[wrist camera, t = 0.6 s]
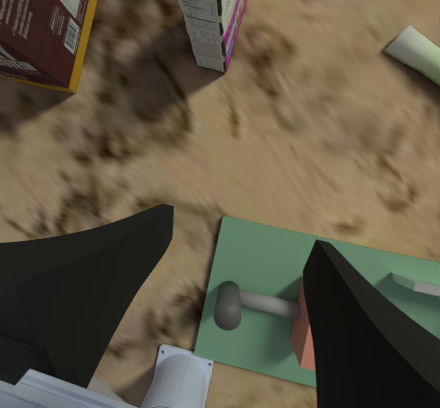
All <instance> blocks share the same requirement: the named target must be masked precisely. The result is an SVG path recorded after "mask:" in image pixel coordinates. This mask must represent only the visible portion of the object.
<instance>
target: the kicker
mask: <svg viewBox="0 0 440 408" xmlns="http://www.w3.org/2000/svg"><path fill="white" fill-rule="evenodd" d="M241 306H244V307H248V308H252V309H256V310H261V311H265V312H269V313H273V314H277V315H281V316H285V317H289V318H293V319H294V320H293V325H292V329H291V334H290V339H289V341H290V343H291V346H292V348H293V351H294V353H295V355H296V358H297V360H298V363H299V365H300V367H303V368H307V369H311V370H315V360H314V348H313V341H312V334H311V329H310V324H309V318H308V313H307V308H306V302H305V296H304V290H303V278H302V283H301V287H300V292H299V297H298V301H297V302H293V301H288V300H284V299H280V298H276V297H272V296H267V295H263V294H259V293H255V292H251V291H246V290H242V289H239V286H238V285H237V284H236V283H235V282H233V281H225V282H223V283H222V284H221V285H220V286H219V289H218V294H217V299H216V305H215V310H214V321H215V323H216V325H217V326H218V327H219V328H220V329H222V330H225V331H231V330H234V329H236V328H237V327H238V326H239V324H240V322H241V319H242V315H241Z"/></svg>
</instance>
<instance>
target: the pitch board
mask: <svg viewBox="0 0 440 408" xmlns="http://www.w3.org/2000/svg"><path fill="white" fill-rule="evenodd" d="M316 239H317V240H322V241H326V242H330V243H331V244H332V245H333V246H334V247H335V248H336V249H337V250H338V251H339V252H340V253H341V254H342V255H343V256H344V257H345V258H346V259H347V261H348V262H349V263H350V264H351V265H352V266H353V267H354V268H355V269H356V270H357V271H358V272H359V273H360V274H361V275H362V276H363V277H364V278H365V279H366V280H367V281H368V282H369V283H370V284H372V285H373V286H374V287H375V288H376V289H377V290H378V291H379V292H380V293H381V294H382V295H383V296H385V297H386V298H387V299H388V300H389V301H390V302H392V303H393V304H394V305H395V306H396V307H398V308H399V309H400V310H401V311H403V312H404V313H405V314H406V315H408V316H409V317H410V318H411V319H413V320H414V321H415V322H417V323H418V324H419V325H421V326H422V327H423V328H425V329H426V330H428V331H429V332H430V333H432V334H433V335H434V336H436V337H437V338H438V339H440V296H436V295H431V294H427V293H423V292H418V291H414V290H412V289H409V288H407V287H405V286H403V285H401V284H399V283H396V282H394V281H392V280H390V274H391V272H394V273H398V274H403V275H407V276H412V277H416V278H421V279H425V280H430V281H434V282H439V283H440V263H438V262H433V261H428V260H424V259H419V258H415V257H410V256H405V255H401V254H396V253H392V252H387V251H382V250H378V249H373V248H368V247H364V246H359V245H355V244H350V243H345V242H341V241H336V240H332V239H327V238H322V237H318V236H313V235H309V234H304V233H299V232H295V231H290V230H286V229H281V228H276V227H272V226H267V225H263V224H258V223H253V222H249V221H244V220H240V219H235V218H230V217H226V216H223V219H222V224H221V229H220V233H219V238H218V243H217V247H216V252H215V257H214V261H213V266H212V271H211V275H210V280H209V285H208V289H207V294H206V299H205V303H204V308H203V313H202V317H201V322H200V327H199V331H198V336H197V341H196V345H195V350H194V356H198V357H202V358H206V359H209V360H213V361H217V362H221V363H225V364H229V365H232V366H236V367H240V368H244V369H248V370H251V371H255V372H259V373H263V374H267V375H270V376H274V377H278V378H282V379H286V380H289V381H293V382H297V383H301V384H305V385H308V386H312V387H316V372H315V370H311V369H307V368H303V367H300V365H299V363H298V360H297V358H296V355H295V353H294V351H293V348H292V346H291V343H290V341H289V339H290V334H291V329H292V325H293V320H294V319H293V318H289V317H285V316H281V315H277V314H273V313H269V312H265V311H261V310H256V309H252V308H248V307H244V306H241V315H242V319H241V322H240V324H239V326H238V327H237V328H236V329H234V330H231V331H225V330H222V329H220V328H219V327H218V326H217V325H216V323H215V321H214V310H215V305H216V299H217V294H218V289H219V286H220V285H221V284H222V283H223V282H225V281H233V282H235V283H236V284H237V285H238V286H239V289H242V290H246V291H251V292H255V293H259V294H263V295H267V296H272V297H276V298H280V299H284V300H288V301H293V302H297V301H298V297H299V292H300V287H301V283H302V278H303V269H304V266H305V264H306V262H307V259H308V257H309V255H310V252H311V250H312V248H313V245H314V243H315V241H316Z"/></svg>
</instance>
